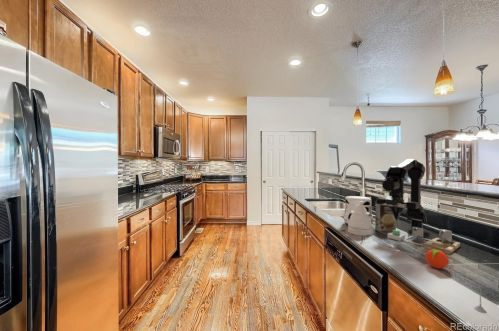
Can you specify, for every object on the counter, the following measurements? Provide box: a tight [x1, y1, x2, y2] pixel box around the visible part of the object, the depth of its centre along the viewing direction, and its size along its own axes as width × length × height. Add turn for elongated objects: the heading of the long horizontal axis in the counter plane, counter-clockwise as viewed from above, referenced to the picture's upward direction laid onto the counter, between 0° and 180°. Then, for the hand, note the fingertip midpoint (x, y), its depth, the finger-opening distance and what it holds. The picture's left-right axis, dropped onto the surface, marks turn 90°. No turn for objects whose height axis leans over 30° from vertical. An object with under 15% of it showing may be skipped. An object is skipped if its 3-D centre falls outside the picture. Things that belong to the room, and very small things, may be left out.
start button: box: [393, 229, 401, 236], centre depth 120 cm, size 3×3×2 cm
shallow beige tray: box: [423, 237, 461, 255], centre depth 107 cm, size 17×9×3 cm, turn 126°
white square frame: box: [387, 232, 406, 242], centre depth 120 cm, size 6×6×3 cm
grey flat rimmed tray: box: [401, 235, 432, 247], centre depth 116 cm, size 13×9×1 cm
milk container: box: [343, 195, 374, 225], centre depth 148 cm, size 17×17×18 cm
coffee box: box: [374, 203, 397, 233], centre depth 136 cm, size 9×6×16 cm
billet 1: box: [411, 227, 424, 243], centre depth 116 cm, size 5×5×7 cm
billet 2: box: [438, 228, 453, 245], centre depth 110 cm, size 5×5×7 cm
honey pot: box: [347, 201, 373, 237], centre depth 132 cm, size 13×13×18 cm
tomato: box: [425, 249, 449, 269], centre depth 87 cm, size 8×7×7 cm
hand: (396, 219), depth 119 cm, fingers closed
